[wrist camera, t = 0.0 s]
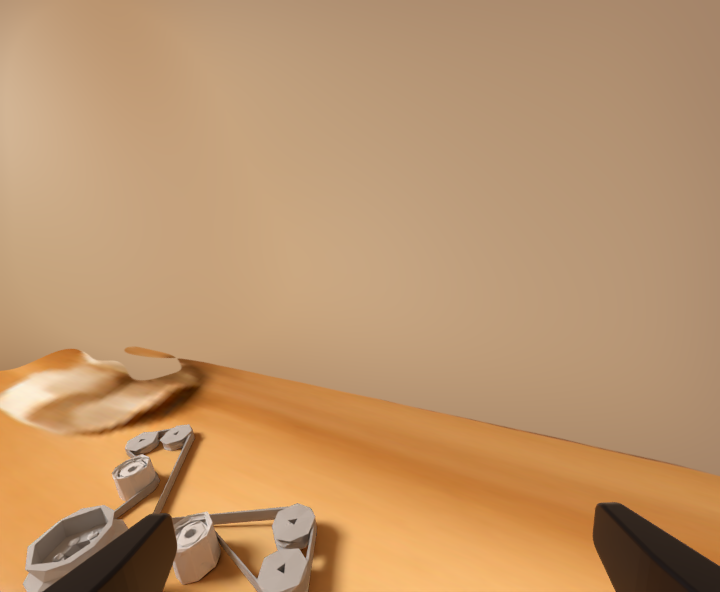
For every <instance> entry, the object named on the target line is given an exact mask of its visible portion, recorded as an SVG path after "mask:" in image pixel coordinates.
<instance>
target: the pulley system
mask: <svg viewBox="0 0 720 592" xmlns="http://www.w3.org/2000/svg"><path fill="white" fill-rule="evenodd" d="M160 437H162V438H161V439H160V441H161V442H162V443H163V446H164V449H165V450H169V451H174V450H176V449H179V448H183V449H182V451H181V453H180V455H179V457H178V460H177V462H176V464H175V466H174V468H173V471H172V473H171V475H170V477H169V479H168V482H167V484H166V486H165V488H164V490H163V493H162V495H161V497H160V499H159V501H158V504H157V506H156V508H155V510H154V512H153V513H160V512H161V510H162V508H163V506H164V504H165V501H166V499H167V497H168V495H169V493H170V490H171V488H172V486H173V484H174V482H175V480H176V477H177V475H178V473H179V471H180V469H181V466H182V464H183V462H184V460H185V458H186V455H187V453H188V451H189V449H190V447H191V444H192V442H193V441H194V440H195V437H194V433H193V429H192V428H191V427H190V425H180V426H176V427H174V428H171V429H166V430H161V431H156V432H144V433H142V434H140V435H138V436H136V437H134V438H132V439H131V440H129V441H128V442H127V444H126V447H125V449H126V452H127V455H128V456H129V457H131V458H132V459H129V460H127V461H125V462H123V463H122V464H120V465H119V466H117V467H116V468H115V469H114V471H113V472H112V475H113V479H114V481H115V484H116V487H117V490H118V493H119V496H120V498H121V499H122V500H124V501H126V502H125V503H124V504H123V505H121V506H120V507H119V508H117V509H116V510H115V511H114V510H112V509H110V508H109V507H107V506H105V505H102V506H96V507H90V508H84V509H81V510H79V511H77V512H75V513H73V514H71V515H69V516H67V517H66V518H64V519H62V520H60V521H59V522H57V523H56V524H55V525H54V526H52V527H51V528H50V529H49V530H48V531H46V532H45V533H44V534H43V535H41V536H40V537H39V538H38V539H37V540H35V541H34V542H33V543H32V544H31V545H29V546H28V550H27V559H26V568H25V570H27V571H28V572H29V574H28V575H27V577H26V579H25V581H24V582H23V585H24V587H25V589H26V591H27V592H42V591H44V590H45V589H46V588H48V587H49V586H51V585H52V584H53V583H55V582H56V581H57V580H59V579H60V578H62V577H63V576H64V575H66V574H67V573H69V572H70V571H71V570H73V569H74V568H75V567H77V566H78V565H80V564H81V563H82V562H84V561H85V560H87V559H88V558H89V557H91V556H92V555H93V554H95V553H96V552H98V551H99V550H100V549H102V548H103V547H104V546H106V545H107V544H109V543H110V542H111V541H113V540H114V539H116V538H117V537H118V536H120V535H121V534H122V533H124V532H125V531H127V530H128V527H127V526H126V524H125V523H124V521H123V520H120V519H117V518H118V517H119V516H121V515H122V514H123V513H125V512H126V511H127V510H129V509H130V508H131V507H133V506H134V505H136V504H137V503H138V502H140V501H141V500H142V499H144V498H145V497H146V496H148V495H149V494H150V493H152V492H153V491H154V490H155V489H156V487H157V486H158V484H159V482H160V479H159V477H158V475H157V473H156V472H155V470H154V468H153V465H152V463H151V460H150V458H149V457H148V456H145V455H143V454H145V453H148V452H151V451H152V450H153V449H154V448H156V447H157V446H158V444H159V440H158V438H160ZM135 455H139V456H135ZM274 519H275V520H274ZM262 520H274V523H273V525H272V529H273V533H274V539H275V543H276V546H277V550H278V551H276V552H274V553H272V554H271V555H269V556H267V557H265V558H264V560H263V563H262V566H261V569H260V572H259V575H258V578H257V579H256V577H255V576H254V575H253V574H252V573H251V572H250V570H249V569H248V568H247V567H246V566H245V565H244V564H243V562H242V561H241V560H240V559H239V558H238V557H237V555H236V554H235V553H234V552H233V551H232V550H231V548H230V547H229V546H228V545H227V544H226V543H225V542H224V540H223V539H222V538H221V537H220V536H219V535H218V533H217V532H216V531H215V529H214V526H213V525H215V524H227V523H238V522H250V521H262ZM172 521H173V526H174V530H175V535H176V539H177V553H176V557H175V559H174V562H173V568H174V571H175V575H176V578H177V579H178V580H179V581H180V582H181V584H182V585H184V584H188V583H192V582H196V581H199V580H200V579H201V578H202V577H203V576H205V575H206V574H207V573H208V572H209V571H211V570H212V569H213V568H214V567H215V566H216V564H217V562H218V559H219V556H220V553H221V549H220V546H219V543H220V545H221V546H222V547H223V548H224V550H225V551H226V552H227V554H228V555H229V556H230V557H231V559H232V560H233V561H234V562H235V564H236V565H237V566H238V567H239V569H240V570H241V571H242V573H243V574H244V575H245V576H246V578H247V579H248V580H249V581H250V583H251V584H252V585H253V587H254V588H255V589H256V590H257V592H308V589H309V581H310V574H311V567H312V560H313V553H314V547H315V540H316V536H317V526H316V520H315V515H314V513H313V511H312V509H311V508H309V507H307V506H304V505H301V504H298V503H297V504H294V505H292V506H290V507H280V508H269V509H259V510H248V511H238V512H228V513H217V514H209V513H208V512H203V513H198V514H193V515H188V516H186V517H176V518H172ZM218 542H219V543H218ZM307 546H308V550H307V556H306V558H305V557H304V555H303V554H302V552H301V551H300V549H303V548H306V547H307Z"/></svg>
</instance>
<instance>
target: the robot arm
mask: <svg viewBox="0 0 720 592" xmlns="http://www.w3.org/2000/svg"><path fill="white" fill-rule="evenodd" d="M593 541H594V545H595V548H596V550H597V553H598V555H599V557H600V559H601V561H602V563H603V565H604V568H605V570H606V572H607V574H608V576H609V578H610V581H611V583H612V585H613V587H614V589H615V591H616V592H720V566H719V565H717V564H715V563H714V562H712V561H711V560H709V559H708V558H706V557H704V556H703V555H701V554H700V553H698V552H697V551H695V550H693V549H692V548H690V547H689V546H687V545H686V544H684V543H682V542H681V541H679V540H678V539H676V538H674V537H673V536H671V535H670V534H668V533H667V532H665V531H663V530H662V529H660V528H659V527H657V526H656V525H654V524H652V523H651V522H649V521H648V520H646V519H644V518H643V517H641V516H640V515H638V514H637V513H635V512H633V511H632V510H630V509H629V508H627V507H626V506H624V505H622V504H620V503H616V502H612V503H599V504H597V506H596V509H595V517H594V527H593ZM176 553H177V539H176V535H175V530H174V526H173V521H172V517H171V516H170V515H169V514H167V513H153V514H149V515H148V516H146V517H145V518H143V519H142V520H140V521H139V522H138V523H136V524H135V525H134V526H132V527H131V528H129V529H128V530H127V531H125V532H124V533H122V534H121V535H120V536H118V537H117V538H116V539H114V540H113V541H111V542H110V543H109V544H107V545H106V546H104V547H103V548H102V549H100V550H99V551H98V552H96V553H95V554H93V555H92V556H91V557H89V558H88V559H87V560H85V561H84V562H82V563H81V564H80V565H78V566H77V567H75V568H74V569H73V570H71V571H70V572H69V573H67V574H66V575H64V576H63V577H62V578H60V579H59V580H57V581H56V582H55V583H53V584H52V585H51V586H49V587H48V588H46V589H45V590H44V591H42V592H162V591H163V589H164V586H165V583H166V581H167V578H168V575H169V573H170V570H171V567H172V565H173V562H174V559H175V557H176Z"/></svg>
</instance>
